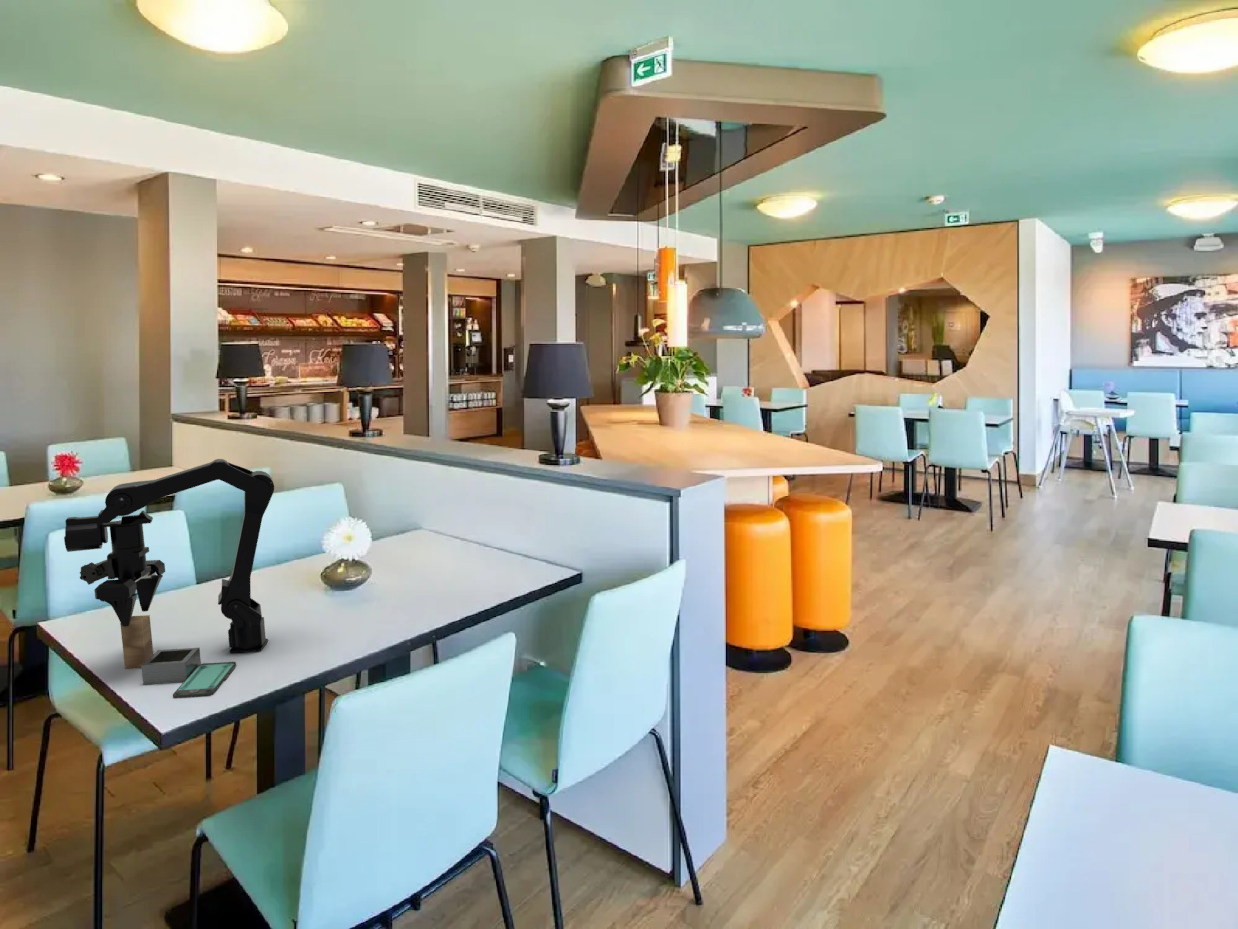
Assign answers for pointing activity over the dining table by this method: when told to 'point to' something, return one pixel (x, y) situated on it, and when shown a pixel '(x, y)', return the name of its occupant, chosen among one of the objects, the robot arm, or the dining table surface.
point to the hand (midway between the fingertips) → (135, 618)
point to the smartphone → (205, 680)
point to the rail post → (137, 641)
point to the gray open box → (170, 665)
